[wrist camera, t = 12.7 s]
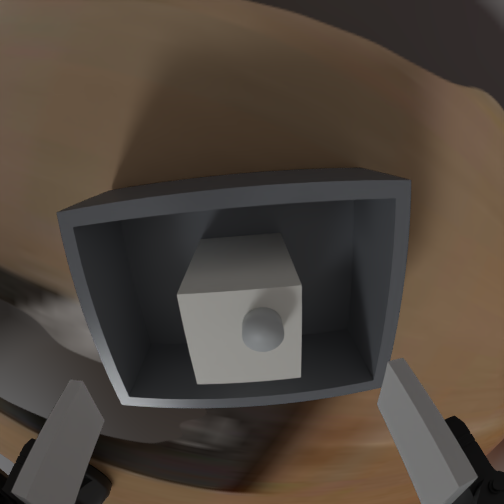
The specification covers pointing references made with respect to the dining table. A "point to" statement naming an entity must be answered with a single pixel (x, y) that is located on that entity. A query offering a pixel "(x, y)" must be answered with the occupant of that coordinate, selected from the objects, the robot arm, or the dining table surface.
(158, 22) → the dining table surface
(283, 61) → the dining table surface
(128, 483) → the dining table surface
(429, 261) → the dining table surface
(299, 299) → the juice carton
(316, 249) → the bin
